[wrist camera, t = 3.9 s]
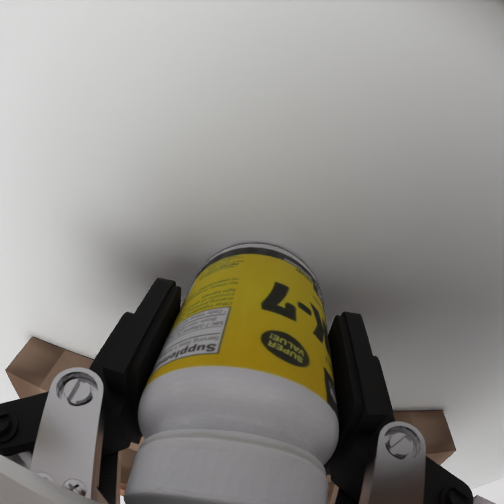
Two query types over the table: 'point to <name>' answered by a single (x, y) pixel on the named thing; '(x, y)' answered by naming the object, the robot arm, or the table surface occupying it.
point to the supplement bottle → (241, 389)
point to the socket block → (57, 360)
